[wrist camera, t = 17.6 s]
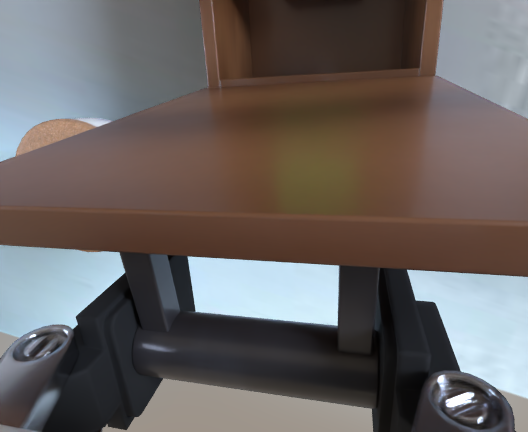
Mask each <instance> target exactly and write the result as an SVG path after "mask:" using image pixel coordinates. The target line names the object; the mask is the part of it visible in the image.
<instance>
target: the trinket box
mask: <svg viewBox="0 0 528 432" xmlns="http://www.w3.org/2000/svg"><path fill="white" fill-rule="evenodd" d="M110 122H112V121H111V120H106V119H100V118H74V119H55V120H50V121H46V122H42V123H40V124H38V125H36V126H34V127H33V128H32V129H31V130H29V131H28V132H27V133H26V134H25V136H24V137H23V138H22V140H21V142H20V144H19V146H18V148H17V152H16V156H18V155H21V154H24V153H27V152H29V151H32V150H35V149H38V148H41V147H43V146H46V145H49V144H52V143H54V142H57V141H60V140H63V139H65V138H68V137H71V136H74V135H76V134H79V133H82V132H85V131H88V130H90V129H93V128H96V127H99V126H101V125H104V124H107V123H110ZM16 156H15V157H16ZM81 251H86V252H100V251H93V250H81Z"/></svg>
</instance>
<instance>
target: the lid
mask: <svg viewBox="0 0 528 432" xmlns="http://www.w3.org/2000/svg"><path fill="white" fill-rule="evenodd" d="M0 245H10V246H27V247H43V248H60V249H76V250H93V251H109V252H120V256H121V259H122V262H123V266H124V269H125V272H126V276H127V279H128V283H129V286H130V289H131V293H132V296H133V300H134V303H135V306H136V310H137V313H138V317H139V320H140V323H139V325H138V327H137V329H136V332H135V336H134V340H133V345H132V361H133V366H134V368H135V370H136V371H137V372H138V373H139V374H141V375H145V376H152V377H158V378H166V379H172V380H179V381H187V382H194V383H200V384H207V385H214V386H220V387H228V388H234V389H241V390H248V391H254V392H262V393H268V394H275V395H282V396H289V397H296V398H302V399H310V400H317V401H323V402H330V403H337V404H344V405H351V406H357V407H364V408H371V409H376V408H377V406H378V400H379V385H380V356H379V340H378V333H377V331H376V330H374V329H375V317H376V305H377V293H378V282H379V270H380V268H390V269H407V270H423V271H440V272H457V273H473V274H490V275H506V276H523V277H528V119H527V118H525V117H523V116H521V115H518V114H516V113H514V112H512V111H510V110H508V109H506V108H504V107H502V106H500V105H497V104H495V103H493V102H491V101H489V100H487V99H485V98H483V97H481V96H479V95H476V94H474V93H472V92H470V91H468V90H466V89H464V88H462V87H460V86H457V85H455V84H453V83H451V82H449V81H447V80H445V79H443V78H441V77H439V76H419V77H400V78H381V79H363V80H344V81H325V82H307V83H288V84H269V85H250V86H232V87H213V88H204V89H201V90H198V91H195V92H193V93H190V94H187V95H184V96H181V97H179V98H176V99H173V100H170V101H168V102H165V103H162V104H159V105H157V106H154V107H151V108H148V109H146V110H143V111H140V112H137V113H135V114H132V115H129V116H126V117H123V118H121V119H118V120H115V121H112V122H110V123H107V124H104V125H101V126H99V127H96V128H93V129H90V130H88V131H85V132H82V133H79V134H76V135H74V136H71V137H68V138H65V139H63V140H60V141H57V142H54V143H52V144H49V145H46V146H43V147H41V148H38V149H35V150H32V151H29V152H27V153H24V154H21V155H18V156H16V157H13V158H10V159H7V160H5V161H2V162H0ZM167 255H175V256H192V257H208V258H225V259H242V260H258V261H275V262H291V263H308V264H324V265H339V296H338V326H334V325H324V324H313V323H303V322H293V321H283V320H273V319H262V318H252V317H242V316H232V315H221V314H211V313H201V312H191V311H181V310H180V309H179V305H178V300H177V296H176V291H175V287H174V283H173V278H172V274H171V269H170V265H169V260H168V256H167Z"/></svg>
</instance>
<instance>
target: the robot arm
mask: <svg viewBox="0 0 528 432" xmlns="http://www.w3.org/2000/svg"><path fill="white" fill-rule="evenodd" d="M167 256H168V260H169V265H170V269H171V274H172V278H173V283H174V287H175V291H176V296H177V300H178V305H179V309H180V310H181V311H191V312H195V305H194V298H193V291H192V284H191V278H190V271H189V264H188V257H187V256H175V255H167ZM76 319H77V323H78V325H77V326H76V327H75V328H74V329H71V328H70V327H69V326H66V325H50V326H45V327H41V328H39V329H36V330H33V331H31V332H29V333H27V334H25V335H23V336H22V337H20V338H19V339H17V340H16V341H15V342H14V343H13V344H12V345H11V346H10V347H9V348H8V349H7V350H6V352H5V353H4V354H3V355H2V357H1V358H0V432H102V428H103V427H105V426H106V424H108V427H113V428H118V429H124V430H127V429H128V427H129V425H130V424H131V422H132V421H133V419H134V417H139V416H140V415H141V414H142V412H143V411H144V409H145V407H146V406H147V404H148V402H149V401H150V399H151V398H152V396H153V394H154V393H155V391H156V389H157V388H158V386H159V384H160V383H161V381H162V380H163V378H158V377H152V376H145V375H141V374H139V373H138V372H137V371H136V370H135V368H134V366H133V361H132V345H133V340H134V336H135V332H136V329H137V327H138V325H139V323H140V320H139V317H138V313H137V310H136V306H135V303H134V300H133V296H132V293H131V289H130V286H129V283H128V279H127V276H126V273H124V274H123V275H122V276H121V277H120V278H119V279H118V280H116V281H115V282H114V283H113V284H112V285H111V286H110V287H109V288H107V289H106V290H105V291H104V292H103V293H102V294H101V295H100V296H98V297H97V298H96V299H95V300H94V301H93V302H92V303H91V304H89V305H88V306H87V307H86V308H85V309H84V310H83V311H82V312H80V313H79V314H78V315H77V316H76ZM374 330H376V331H377V333H378V340H379V356H380V385H379V400H378V406H377V408H376V409H372V417H373V432H516V431H515V430H514V429H515V428H514V426H515V425H514V415H513V411H512V408H511V406H510V404H509V403H508V401H507V400H506V398H505V397H504V396H503V395H502V394H501V393H500V392H499V391H498V390H497V389H496V388H495V387H493V386H492V385H490V384H489V383H487V382H486V381H484V380H483V379H480V378H478V377H476V376H473V375H471V374H468V373H464V372H461V371H460V368H459V365H458V363H457V360H456V357H455V355H454V352H453V349H452V347H451V344H450V341H449V338H448V336H447V333H446V330H445V328H444V325H443V322H442V319H441V317H440V314H439V311H438V309H437V306H436V304H435V303H434V302H426V301H416V300H415V297H414V293H413V290H412V286H411V283H410V279H409V276H408V272H407V269H390V268H380V270H379V282H378V293H377V305H376V317H375V329H374Z"/></svg>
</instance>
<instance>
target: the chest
mask: <svg viewBox="0 0 528 432" xmlns="http://www.w3.org/2000/svg"><path fill="white" fill-rule="evenodd" d="M443 1H444V0H199V5H200V14H201V24H202V34H203V43H204V53H205V62H206V72H207V82H208V88H213V87H232V86H250V85H269V84H288V83H307V82H325V81H344V80H363V79H381V78H400V77H419V76H435V73H436V64H437V55H438V46H439V37H440V28H441V19H442V10H443Z"/></svg>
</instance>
